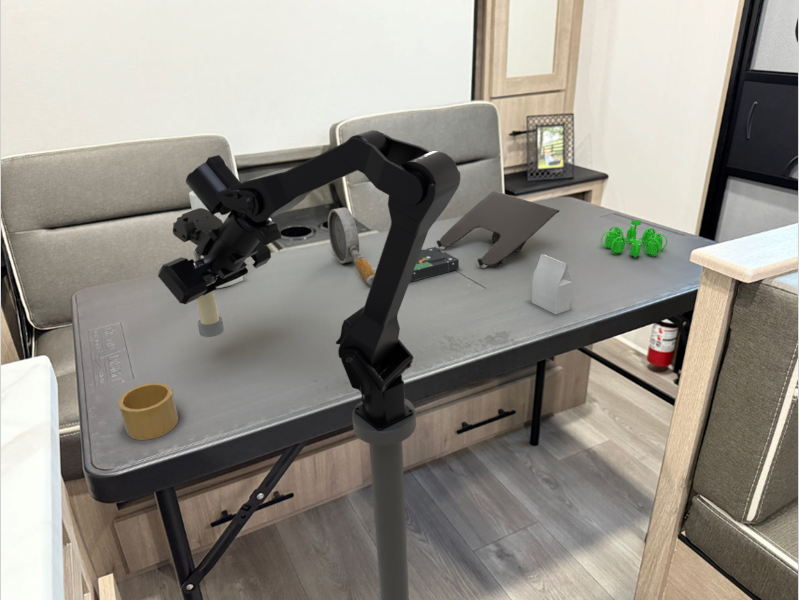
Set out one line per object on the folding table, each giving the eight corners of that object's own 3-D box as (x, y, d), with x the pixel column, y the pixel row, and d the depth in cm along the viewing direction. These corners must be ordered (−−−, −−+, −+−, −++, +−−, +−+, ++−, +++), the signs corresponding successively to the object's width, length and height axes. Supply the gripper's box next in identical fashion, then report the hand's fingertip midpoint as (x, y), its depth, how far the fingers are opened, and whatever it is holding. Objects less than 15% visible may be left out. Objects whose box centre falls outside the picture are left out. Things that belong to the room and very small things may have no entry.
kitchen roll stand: (229, 328, 102) (214, 248, 96) (212, 339, 99) (196, 256, 93) (211, 324, 104) (195, 245, 98) (194, 334, 101) (177, 253, 94)
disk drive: (434, 257, 146) (381, 269, 140) (434, 246, 145) (380, 258, 139) (459, 270, 138) (403, 284, 132) (459, 259, 137) (403, 272, 131)
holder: (185, 426, 88) (178, 397, 86) (134, 447, 84) (126, 417, 82) (168, 404, 94) (162, 377, 91) (120, 423, 90) (112, 395, 88)
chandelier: (661, 240, 151) (665, 213, 148) (670, 262, 138) (675, 233, 135) (598, 237, 154) (601, 211, 151) (601, 258, 141) (604, 230, 138)
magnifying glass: (382, 256, 127) (340, 197, 144) (368, 258, 126) (327, 199, 143) (378, 303, 135) (338, 242, 152) (365, 306, 134) (327, 244, 151)
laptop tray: (441, 264, 157) (427, 238, 152) (501, 211, 163) (491, 183, 157) (501, 293, 139) (488, 264, 134) (566, 232, 145) (557, 202, 140)
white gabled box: (555, 314, 116) (559, 266, 112) (531, 302, 122) (534, 256, 117) (569, 309, 118) (573, 262, 114) (545, 297, 123) (548, 251, 119)
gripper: (247, 180, 97) (209, 236, 106) (152, 212, 82) (119, 274, 92) (291, 233, 96) (249, 285, 106) (204, 275, 82) (165, 330, 92)
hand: (198, 291), depth 99 cm, fingers closed on kitchen roll stand, 3 cm apart
